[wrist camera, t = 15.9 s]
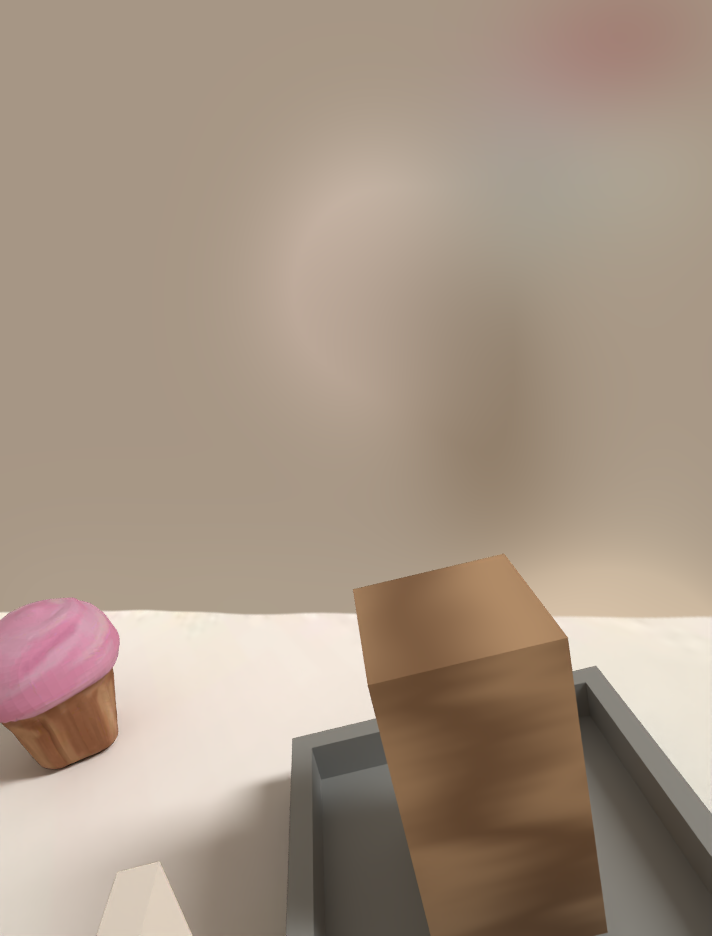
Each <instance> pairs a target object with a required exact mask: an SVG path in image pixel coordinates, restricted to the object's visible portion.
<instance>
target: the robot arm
mask: <svg viewBox="0 0 712 936" xmlns="http://www.w3.org/2000/svg"><path fill="white" fill-rule="evenodd" d="M96 936H192V933H191V931H190V929H189V927H188V924H187V922H186V920H185V917H184V915H183V913H182V911H181V908H180V906H179V904H178V902H177V899H176V897H175V895H174V892H173V890H172V888H171V886H170V883H169V881H168V879H167V877H166V874H165V872H164V870H163V868H162V865H161V863H160V861H158V862H154V863H150V864H146V865H143V866H139V867H135V868H131V869H127V870H123V871H120V872H117V874H116V877H115V880H114V883H113V887H112V890H111V893H110V896H109V899H108V902H107V905H106V908H105V911H104V914H103V917H102V920H101V923H100V926H99V929H98V932H97V935H96Z"/></svg>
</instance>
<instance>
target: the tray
mask: <svg viewBox="0 0 712 936" xmlns="http://www.w3.org/2000/svg"><path fill="white" fill-rule="evenodd" d="M572 672H573V680H574V687H575V694H576V702H577V709H578V717H579V724H580V731H581V739H582V746H583V754H584V761H585V768H586V776H587V783H588V790H589V798H590V805H591V813H592V820H593V827H594V835H595V842H596V850H597V857H598V864H599V872H600V879H601V886H602V894H603V901H604V909H605V916H606V923H607V931H608V933H604V934H600V935H596V936H712V814H711V812H710V811H709V810H708V809H707V807H706V806H705V805H704V803H703V802H702V801H701V800H700V798H699V797H698V796H697V794H696V793H695V792H694V791H693V789H692V788H691V787H690V785H689V784H688V783H687V782H686V780H685V779H684V778H683V777H682V775H681V774H680V773H679V771H678V770H677V769H676V768H675V766H674V765H673V764H672V762H671V761H670V760H669V759H668V757H667V756H666V755H665V753H664V752H663V751H662V750H661V748H660V747H659V746H658V744H657V743H656V742H655V741H654V739H653V738H652V737H651V735H650V734H649V733H648V732H647V730H646V729H645V728H644V727H643V725H642V724H641V723H640V721H639V720H638V719H637V718H636V716H635V715H634V714H633V712H632V711H631V710H630V709H629V707H628V706H627V705H626V703H625V702H624V701H623V700H622V698H621V697H620V696H619V694H618V693H617V692H616V691H615V689H614V688H613V687H612V685H611V684H610V683H609V682H608V680H607V679H606V678H605V676H604V675H603V674H602V673H601V671H600V670H599V669H598V668H597V666H593V667H589V668H585V669H580V670H576V671H572ZM286 936H431V935H430V931H429V927H428V923H427V919H426V915H425V911H424V907H423V903H422V899H421V895H420V891H419V887H418V883H417V879H416V875H415V871H414V867H413V863H412V859H411V855H410V851H409V847H408V843H407V839H406V835H405V831H404V827H403V823H402V820H401V816H400V812H399V808H398V804H397V800H396V796H395V792H394V788H393V784H392V780H391V776H390V772H389V768H388V764H387V760H386V756H385V752H384V748H383V744H382V740H381V736H380V732H379V728H378V724H377V720H376V719H372V720H368V721H363V722H359V723H355V724H351V725H347V726H343V727H338V728H334V729H330V730H326V731H322V732H318V733H313V734H309V735H305V736H301V737H297V738H293V739H292V768H291V798H290V828H289V858H288V888H287V918H286Z"/></svg>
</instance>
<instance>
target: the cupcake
mask: <svg viewBox="0 0 712 936" xmlns="http://www.w3.org/2000/svg"><path fill="white" fill-rule="evenodd" d="M119 645H120V642H119V635H118V632H117V630H116V629H115V627H114V626H113V625H112V623H111V622H110V621H109V619H108V618H107V616H106V615H105V614H104V613H103V612H102V611H100V610H99V609H98V608H97V607H95V606H94V605H92V604H91V603H88V602H84V601H78V600H77V599H75V598H58V599H48V600H42V601H37V602H34V603H30V604H27V605H24V606H22V607H19V608H18V609H15V610H13V611H12V612H10V613H8V614H7V615H6V616H5V617H4V618H2V619H1V620H0V723H2V724H3V725H4V726H5V727H6V728H8V729H9V730H10V731H11V732H12V733H13V734H14V735H15V736H16V738H17V739H18V740H19V741H20V743H21V744H22V745H23V746H24V747H25V749H26V750H27V751H28V752H29V753H30V754H31V756H32V757H33V758H34V759H35V760H36V761H37V762H38V763H39V764H40V765H41V766H42V767H44V768H49V769H59V768H62V767H65V766H67V765H69V764H71V763H74V762H76V761H79V760H81V759H83V758H86V757H88V756H91V755H93V754H96V753H98V752H100V751H102V750H104V749H106V748H107V747H109V746H110V745H111V744H112V743H113V742H114V741H115V739H116V737H117V735H118V725H117V710H116V701H115V686H114V673H113V666H114V664H115V662H116V659H117V657H118V651H119Z"/></svg>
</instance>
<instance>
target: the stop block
mask: <svg viewBox="0 0 712 936" xmlns="http://www.w3.org/2000/svg"><path fill="white" fill-rule="evenodd" d="M353 593H354V599H355V605H356V612H357V619H358V625H359V631H360V638H361V644H362V651H363V657H364V664H365V670H366V677H367V683H368V688H369V692H370V696H371V700H372V704H373V708H374V712H375V716H376V720H377V724H378V728H379V732H380V736H381V740H382V744H383V748H384V752H385V756H386V760H387V764H388V768H389V772H390V776H391V780H392V784H393V788H394V792H395V796H396V800H397V804H398V808H399V812H400V816H401V820H402V823H403V827H404V831H405V835H406V839H407V843H408V847H409V851H410V855H411V859H412V863H413V867H414V871H415V875H416V879H417V883H418V887H419V891H420V895H421V899H422V903H423V907H424V911H425V915H426V919H427V923H428V927H429V931H430V935H431V936H596V935H600V934H604V933H608V931H607V923H606V916H605V909H604V901H603V894H602V886H601V879H600V872H599V864H598V857H597V850H596V842H595V835H594V827H593V820H592V813H591V805H590V798H589V790H588V783H587V776H586V768H585V761H584V754H583V746H582V739H581V731H580V724H579V717H578V709H577V702H576V694H575V687H574V680H573V672H572V665H571V658H570V650H569V643H568V637H567V636H566V635H565V633H564V632H563V631H562V629H561V628H560V627H559V625H558V624H557V623H556V621H555V620H554V619H553V617H552V616H551V615H550V614H549V612H548V611H547V610H546V608H545V607H544V606H543V604H542V603H541V602H540V600H539V599H538V598H537V596H536V595H535V594H534V593H533V591H532V590H531V589H530V587H529V586H528V585H527V583H526V582H525V581H524V579H523V578H522V577H521V575H520V574H519V573H518V571H517V570H516V569H515V568H514V566H513V565H512V564H511V563H510V561H509V560H508V558H507V557H506V556H505V555H504V554H501V555H497V556H492V557H488V558H484V559H480V560H475V561H471V562H467V563H463V564H458V565H454V566H450V567H446V568H442V569H437V570H433V571H429V572H424V573H421V574H416V575H412V576H408V577H404V578H399V579H395V580H391V581H387V582H382V583H378V584H374V585H370V586H365V587H361V588H357V589H353Z"/></svg>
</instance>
